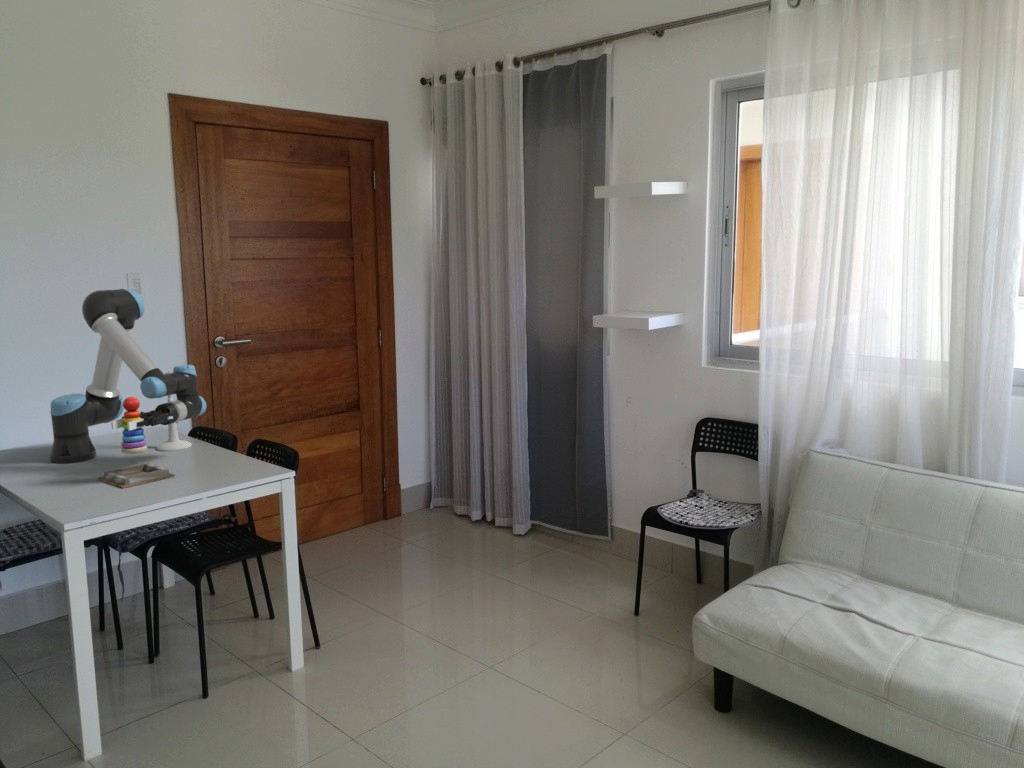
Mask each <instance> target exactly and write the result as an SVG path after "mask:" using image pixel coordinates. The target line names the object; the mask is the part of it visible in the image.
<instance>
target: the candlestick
mask: <svg viewBox="0 0 1024 768" xmlns="http://www.w3.org/2000/svg"><path fill="white" fill-rule="evenodd" d="M170 373H171V372H169V371H167V372H165V374H170ZM173 396H174V394H172V395H168V396H167V403H168V402H172V401H174V398H173ZM177 424H178V423H172V424H168V425H167V426H168V427H167V428H168V440H166V441H164V442H161V443H160V444H158V445H157V446H156V450H157V451H158V450H160V451H159V452H174V451H173V450H179V449H184V448H188V447H190V446H193V445H192V443H191V442H190V441H187V440H183V439H180V438H179V432H178V425H177ZM190 448H191V447H190ZM188 449H189V448H188ZM184 450H185V449H184ZM179 451H180V450H179Z"/></svg>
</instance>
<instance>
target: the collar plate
mask: <svg viewBox="0 0 1024 768" xmlns="http://www.w3.org/2000/svg"><path fill="white" fill-rule="evenodd" d="M174 476H177V475H176V474H174V473H170V469H169V468H165V467H162V466H160V465H159V466H158V465H155V464H152V463H149V462H145V463H140V464H139V463H138V464H135V465H130V466H126V467H125V466H124V467H120V468H116V469H111V470H106V471H103V476H100V477H97V480H98V479H99V480H98V481H100V480H102V481H101V482H103V481H105V482H104V483H106V482H107V483H106V484H109V483H110V484H109V485H111V484H113V485H112V486H114V485H116V486H115V487H117V486H118V487H117V488H120V487H121V488H120V489H122V488H124V489H127V488H126V487H128V488H131V486H132V487H136V486H135V485H137V486H141V485H145V483H146V484H149V483H148V482H150V483H154V482H153V481H155V482H158V481H157V480H159V481H162V479H163V480H167V479H166V478H168V479H171V478H170V477H172V478H175V477H174ZM140 484H141V485H140Z"/></svg>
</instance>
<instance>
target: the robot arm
mask: <svg viewBox="0 0 1024 768" xmlns="http://www.w3.org/2000/svg"><path fill="white" fill-rule="evenodd" d="M81 310H82V316H83V319H84V321H85V323H86V324H87V325H88V327H89V328H90V329H91V331H93V333H96V334H97V333H98V334H99V335H100V341H99V346H98V353H97V356H96V363H95V366H94V372H93V376H92V383H90V384H88V385H87V386H86V389H85V394H84V393H71V394H70V393H69V394H64V395H61V396H57V397H56V398H54V399H53V400H51V402H50V413H49V414H50V417H51V425H52V434H53V442H52V446H51V450H50V453H49V459H50V460H49V461H50V462H52V463H55V462H56V464H67V463H69V462H71V463H78V461H79V462H83V461H89V460H91V459H94V458H95V456H96V457H97V451H96V447H95V445H94V444H93V441H92V439H91V437H90V433H89V430H90V429H89V428H90V427H93V426H96V425H97V426H98V425H101V424H108V423H110V425H111V430H117V429H121V428H123V425H124V424H125V423H124V422H123V419H124V418H126V417H124V415H123V416H122V417H121V415H122V414H123V412H124V407H123V402H124V400H123V397H122V395H121V394H120V393H121V392H120V390H119V388H117V387H118V383H119V377H120V372H121V368H122V362H123V363H124V364H125V365H126V366H127V367H128V368H129V370H130V371H131V372H132V373H133V374H134V376H136V378H137V379H138V380H139V381H140V390H141V394H142V396H144V397H145V398H147V399H151V400H153V399H160V398H161V399H162V398H164V397H168V395H172V394H173V395H175V397H176V399H175V400H173V401H172V402H168V401H167V402H165V403H164V402H163V403H161V404H158V405H156V407H155V409H153V410H149V411H147V412H144V411H139V412H140V416H139V417H140V418H141V419H138V420H134V421H130V422H127V426H128V430H129V431H130V430H133V429H137V428H141V427H142V428H144V427H150V426H151V427H155V426H158V425H162V426H168V424H172V423H176V424H179V422H182V421H186V420H189V419H193V418H194V419H195V418H197V417H199V416H201V415H204V413H205V412H206V411H207V402H206V401H205V399H204V398H203V397H202V396H201V395H200V394H199V388H198V387H199V386H198V375H197V371H196V366H194V365H193V364H181V365H175V366H174V367H173V369H172V370H173V371H172V373H170V374H166V373H164V372H163V371H162V370H161V369H160V367H158V366H157V364H156V363H155V362H154V360H152V359H151V357H150V356H149V355H148V354H147V353H146V352H145V350H144V349H143V348H142V347H141V346H140V345H139V344H138V343H137V341H136V339H134V338H133V337H132V336H131V335H130V333H129V331H132V330H134V328H135V321H138V320H139V319H141V318H142V317H143V315H144V312H145V304H144V301H143V299H142V297H141V295H140V294H139V293H138V292H137V291H135V290H133V289H128V288H118V289H107V290H105V289H104V290H103V289H101V290H96V291H93V292H90V293H89V294H88V295H87V296H86V297H85V298H84V300H83V301H82V307H81ZM120 417H121V418H120Z"/></svg>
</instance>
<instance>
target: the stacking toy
mask: <svg viewBox="0 0 1024 768" xmlns="http://www.w3.org/2000/svg"><path fill="white" fill-rule="evenodd" d="M140 405H141V404H140V400H139V399H138V398H137V397H134V396H128V397H126V398H125V399H124V400H123V407H124V408H123V410H125V412H124V411H123V412H124V413H123V416H124V417H126V418H124V419H123V422H124V423H125V424H124V425H123V427H122V428H123V430H122V435H123V436H122V437H121V440H122V442H121V453H122V454H125V455H137V454H142V453H145V452H147V450H148V446H147V445H146V444H147V442H146V435H145V434H144V428H143V427H141V428H137V429H133V430H130V431H129V430H128V426H127V422H130V421H134V420H138V419H141V418H140V417H139V416H140V412H141V411H139V410H138V409H139V408H140Z"/></svg>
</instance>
